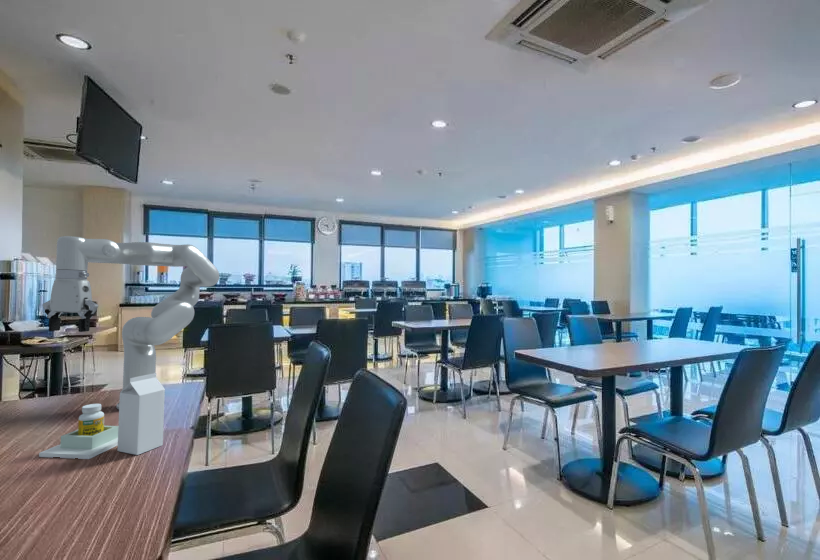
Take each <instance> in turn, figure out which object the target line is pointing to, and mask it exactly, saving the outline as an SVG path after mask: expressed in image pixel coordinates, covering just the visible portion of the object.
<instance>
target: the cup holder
mask: <svg viewBox="0 0 820 560" xmlns="http://www.w3.org/2000/svg"><path fill="white" fill-rule="evenodd" d="M115 447H118V425H104V431H103V432H100V433H98V434H95V435H93V436H84V435H78V429H76V430H74V431H71V432H68V433H65V434H63V435H60V443H59V444H57V445H55V446H52V447H50V448H47V449H46V450H43V451H40V452H39V453H38V457H39V458H53V457H60V458H59V459H75V458H78V459H77V460H79V459H80V460H90V459H92V458H94V457H97V456H98V455H100V454H103V453H104V452H107V451H109V450H111V449H114V448H115Z"/></svg>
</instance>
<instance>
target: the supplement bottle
mask: <svg viewBox="0 0 820 560" xmlns="http://www.w3.org/2000/svg"><path fill="white" fill-rule="evenodd" d="M81 412H82V414H80V415H79V416H78V421H77V422H78V427H77V430H78V435H84V436H93V435H95V434H98V433H100V432H103V431H104V426H105V413H104V412H103V411H102V404H101V403H90V404H86V405H83V406H82V407H81Z"/></svg>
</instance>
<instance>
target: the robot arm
mask: <svg viewBox="0 0 820 560" xmlns="http://www.w3.org/2000/svg"><path fill="white" fill-rule="evenodd" d="M56 240H57V241H56V256H55V257H56V259H55V260H56V261H55V262H56V263H55V279H54V280H53V283H52V287H51V292H50V298H49V299H50V300H48V301H45V302H44V303H42V308H43V310H44V313H45V314H46V317H47V319H48V331H49V332H56V331H60V330H61V322H62V321H61V320H62V319H61V315H62V314H63V313H68V314H69V313H73V314H74V313H77V314H78V316H79V317H80V318H79V319H78V332H79V333H84V332H89V331H90V323H91V319H92V318H93V316H94V315H95V314H96V311H97V310H98V307H99V304H97V303H96V302H94V301H93V295H92V287H91V282H90V281H89V280H88V278H89V277H90V273H89V272H88V270H89V269H88V267H89V263H93V264H95V263H98V264H115V265H116V264H120V265H121V264H122V265H132V266H146V267H147V266H152V267H173V268H174V267H175V268H177V267H179V268H180V267H181V268H182V267H186V268H184V269H183V270H182V272H181V275H180V285H179V288H178V289H177V290H176V291H175V292H174V293H172V294H171V295H169V296H167V298H164V299H163V300H162V301H161V302H160V301H159V303H157V304H156V305H155V306H154V307H152V310H151V312H150V313H151V314H150V316H137V317H133V318H130V319H129V320H127V321H125V323H124V324H123V327H122V330H121V337H122V344H123V369H122V370H123V371H122V390H123V389H124V388H125V387H126V386H127V385H128V384H129V383H130V378H134V377H139V376H144V375H149V374H154V373H156V364H157V363H156V362H157V351H156V348H155V347H156V346H160V345H163V344H164V343H166V342H169V340H171V339H172V338H173V337H175V336H176V335H177V334H179V333H180V332H181V331H182V330H184V329H185V328H186V327H187V326H189V325H190V323H192V321H193V320H194V317H195V309H194V308H195V307H194V306H195V305H196V304H197V303H198V302H199V299H200V291H201V290H200V288H201V287H202V288H208V287H209V288H210V287H213V286H215V285H216V284H217V283H218V282H219V279H220V271H219V270H218V269H217V267H216V266H215V265H214V264H213V262H212V261H210V259H209V258H208V257H207V256H206V255H205V254H204V253H203V252H202V251H201V250H200V249H199V248H197V247H196V246H195V245H193V244H189V243H187V244H169V243H156V242H150V241H149V242H148V241H136V242H115V241H113V240H111V239H106V238H85V237H81V236H71V235H65V236H64V235H63V236H60V237H58V238H57V239H56ZM115 408H116V409H117V410H119V402H118V403H117V404H116V407H115Z"/></svg>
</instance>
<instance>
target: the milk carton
mask: <svg viewBox="0 0 820 560" xmlns="http://www.w3.org/2000/svg"><path fill="white" fill-rule="evenodd" d="M165 393H166V389H165V387H164V385H163V384H162V383H161V382H160V380H159V379H158V378H157V373H156V372H155V373H154V374H149V375H144V376H139V377H134V378H130V383H129V384H128V385H127V386H126V387H125V388H124V389H123V388H122V390H121V391H120V392H119V402H118V403H119V409H118V425H117V426H118V445H117V449H116V450H117V452H121V453H125V454H130V455H135V456H139V455H140V454H144V453H146V452H149V451H152V450H154V449H156V448H160V447H162V446H163V444H164V422H165V420H164V419H165V417H164V416H165V398H166V397H165V395H166V394H165Z"/></svg>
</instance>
